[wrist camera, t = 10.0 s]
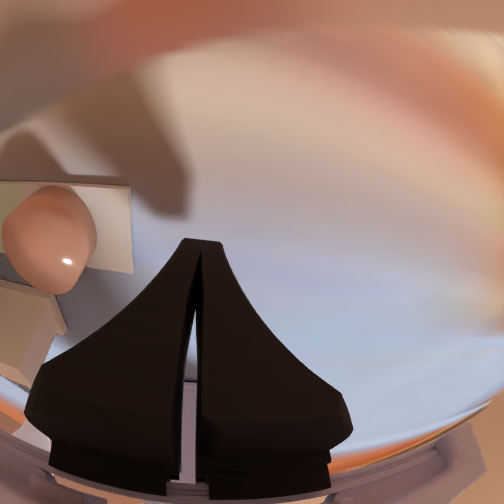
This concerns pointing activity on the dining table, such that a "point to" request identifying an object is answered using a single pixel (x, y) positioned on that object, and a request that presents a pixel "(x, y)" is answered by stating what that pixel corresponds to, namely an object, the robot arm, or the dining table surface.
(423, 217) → the dining table surface
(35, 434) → the lightbulb
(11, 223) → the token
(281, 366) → the robot arm
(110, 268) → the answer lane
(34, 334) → the tan rectangular block
